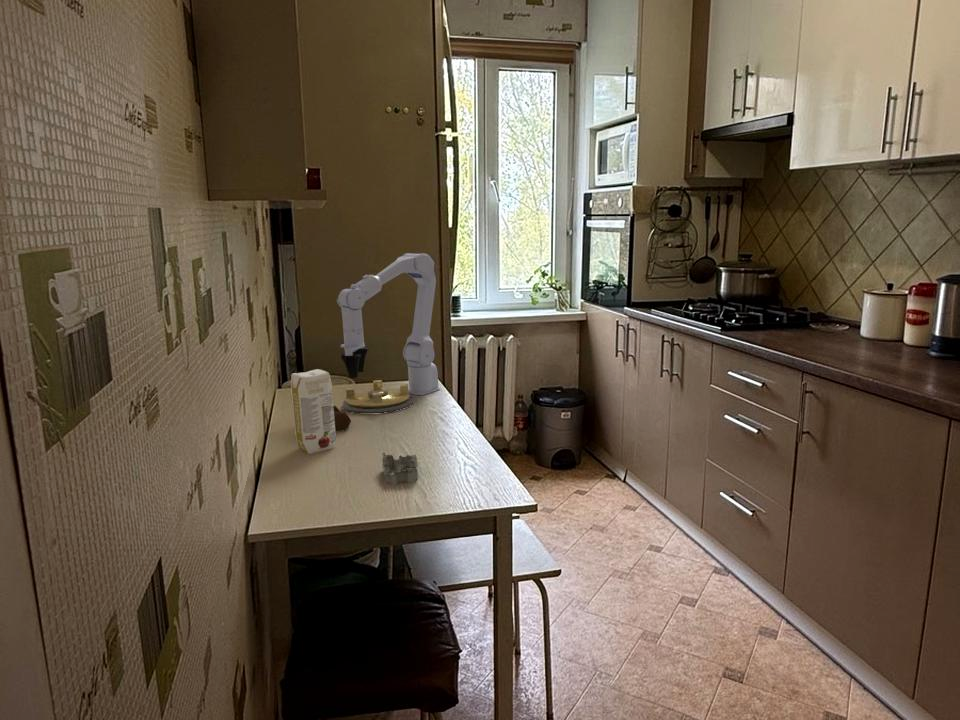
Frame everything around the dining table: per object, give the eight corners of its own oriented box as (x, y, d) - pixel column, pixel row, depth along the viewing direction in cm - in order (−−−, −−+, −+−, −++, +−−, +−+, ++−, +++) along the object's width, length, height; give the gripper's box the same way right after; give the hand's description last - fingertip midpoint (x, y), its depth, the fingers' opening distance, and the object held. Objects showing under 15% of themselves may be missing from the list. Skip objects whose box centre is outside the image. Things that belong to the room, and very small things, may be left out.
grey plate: (378, 392, 216) (378, 388, 216) (427, 400, 204) (427, 396, 203) (328, 408, 200) (328, 403, 199) (378, 418, 187) (377, 413, 187)
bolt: (332, 423, 191) (344, 435, 177) (316, 417, 189) (327, 429, 175) (340, 404, 191) (353, 415, 178) (324, 398, 189) (336, 408, 175)
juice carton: (339, 447, 163) (333, 372, 159) (307, 456, 158) (300, 378, 154) (325, 440, 169) (319, 367, 165) (293, 448, 164) (286, 373, 160)
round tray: (378, 389, 214) (377, 377, 214) (422, 396, 203) (422, 384, 202) (332, 402, 200) (331, 390, 199) (377, 411, 188) (377, 398, 188)
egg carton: (382, 469, 149) (381, 451, 148) (416, 466, 150) (415, 448, 149) (383, 486, 138) (382, 467, 138) (419, 483, 139) (418, 464, 139)
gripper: (346, 326, 204) (349, 369, 207) (332, 334, 190) (336, 380, 192) (369, 325, 203) (372, 369, 206) (357, 333, 189) (360, 380, 192)
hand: (356, 374), depth 199 cm, fingers open, 7 cm apart
